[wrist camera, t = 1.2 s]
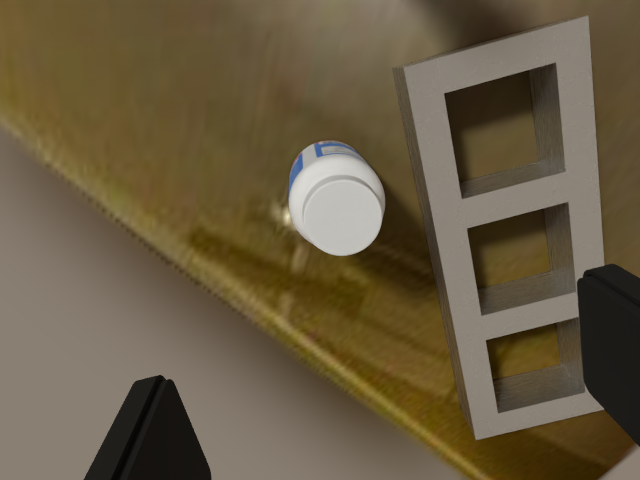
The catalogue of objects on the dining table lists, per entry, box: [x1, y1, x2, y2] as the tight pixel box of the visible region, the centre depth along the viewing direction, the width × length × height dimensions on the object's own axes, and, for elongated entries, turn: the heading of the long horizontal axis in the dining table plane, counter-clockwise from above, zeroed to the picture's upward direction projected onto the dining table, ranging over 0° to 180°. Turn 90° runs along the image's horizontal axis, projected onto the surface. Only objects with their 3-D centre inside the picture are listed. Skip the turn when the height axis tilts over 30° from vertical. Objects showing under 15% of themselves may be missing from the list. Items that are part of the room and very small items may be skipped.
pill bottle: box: [289, 140, 385, 256], centre depth 28 cm, size 6×5×10 cm
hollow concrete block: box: [392, 16, 604, 440], centre depth 33 cm, size 28×11×4 cm, turn 15°
